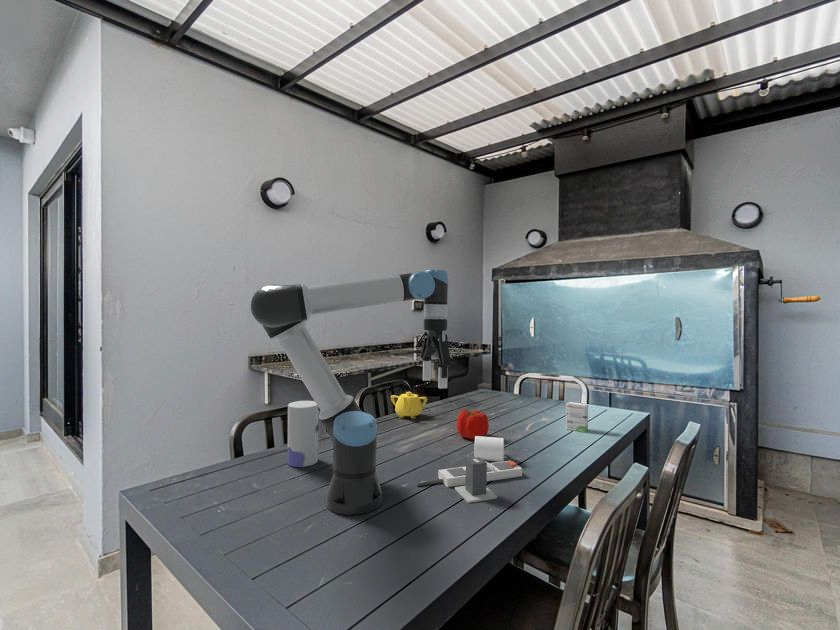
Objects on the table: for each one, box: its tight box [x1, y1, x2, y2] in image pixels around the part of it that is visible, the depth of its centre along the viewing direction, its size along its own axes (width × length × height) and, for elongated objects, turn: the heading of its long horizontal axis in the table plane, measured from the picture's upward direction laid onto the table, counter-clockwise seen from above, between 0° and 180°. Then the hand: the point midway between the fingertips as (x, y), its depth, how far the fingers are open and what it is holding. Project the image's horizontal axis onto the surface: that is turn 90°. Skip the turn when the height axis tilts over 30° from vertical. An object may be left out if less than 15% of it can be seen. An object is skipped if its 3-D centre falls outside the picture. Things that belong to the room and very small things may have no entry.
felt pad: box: [454, 485, 498, 504], centre depth 120 cm, size 9×9×1 cm
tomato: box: [456, 409, 490, 441], centre depth 172 cm, size 14×13×10 cm
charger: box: [464, 457, 488, 496], centre depth 120 cm, size 4×4×9 cm
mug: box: [473, 436, 505, 462], centre depth 149 cm, size 12×10×8 cm
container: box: [287, 400, 319, 468], centre depth 142 cm, size 10×10×20 cm
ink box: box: [565, 401, 589, 433], centre depth 184 cm, size 9×5×12 cm, turn 56°
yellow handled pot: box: [390, 391, 428, 420], centre depth 202 cm, size 14×14×12 cm
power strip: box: [416, 460, 523, 488], centre depth 131 cm, size 34×7×4 cm, turn 110°
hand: (434, 384), depth 134 cm, fingers open, 13 cm apart
